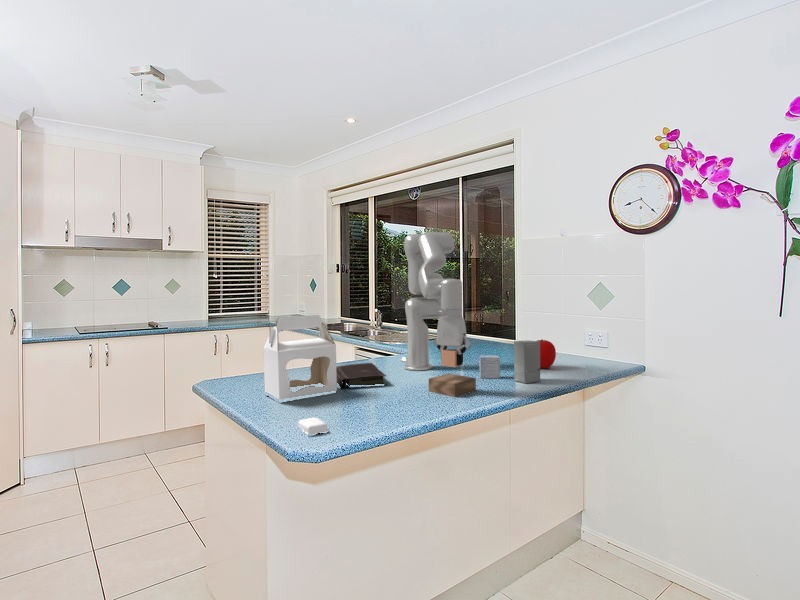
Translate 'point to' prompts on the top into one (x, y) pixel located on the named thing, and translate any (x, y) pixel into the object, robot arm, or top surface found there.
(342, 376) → the diary
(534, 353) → the tall grey block
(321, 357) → the gable box
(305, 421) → the soap
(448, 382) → the walnut block
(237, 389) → the top surface
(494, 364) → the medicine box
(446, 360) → the terracotta cube
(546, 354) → the tomato
